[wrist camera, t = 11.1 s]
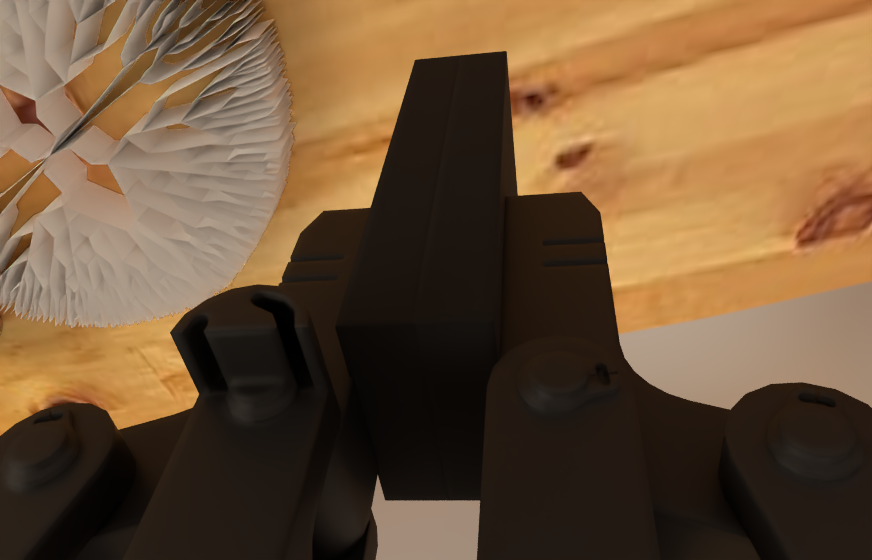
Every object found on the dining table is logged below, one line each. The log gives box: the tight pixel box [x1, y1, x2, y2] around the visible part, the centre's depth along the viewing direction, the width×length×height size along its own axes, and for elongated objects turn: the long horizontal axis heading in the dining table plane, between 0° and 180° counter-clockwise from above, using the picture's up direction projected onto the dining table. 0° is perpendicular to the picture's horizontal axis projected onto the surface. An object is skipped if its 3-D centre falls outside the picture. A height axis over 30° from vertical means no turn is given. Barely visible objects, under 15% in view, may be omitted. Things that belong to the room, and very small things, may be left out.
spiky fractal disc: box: [0, 0, 297, 328], centre depth 39 cm, size 22×28×3 cm
